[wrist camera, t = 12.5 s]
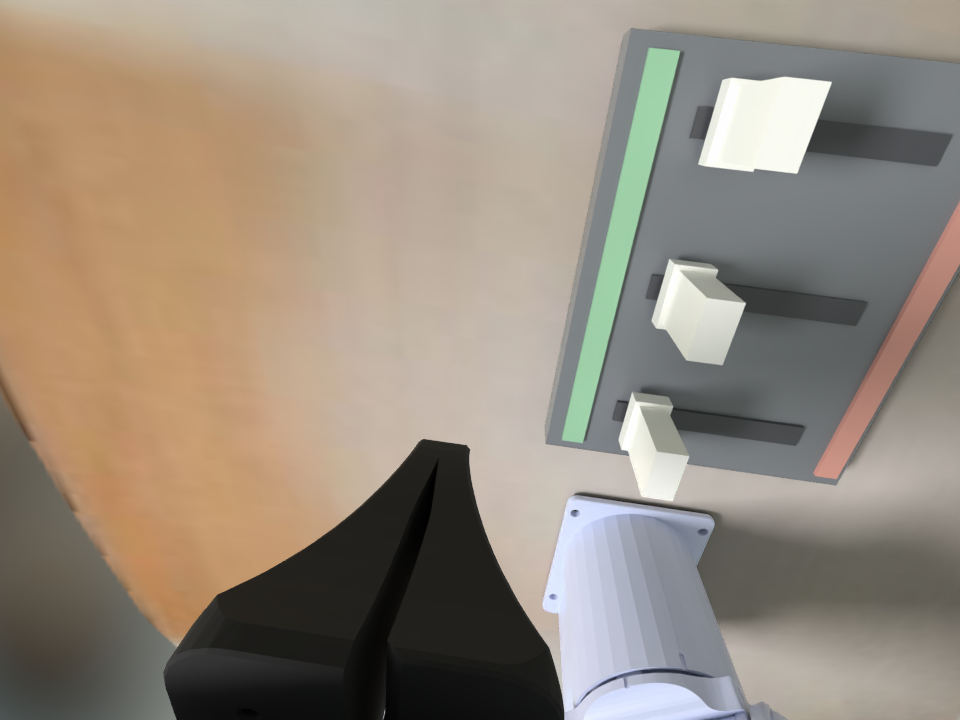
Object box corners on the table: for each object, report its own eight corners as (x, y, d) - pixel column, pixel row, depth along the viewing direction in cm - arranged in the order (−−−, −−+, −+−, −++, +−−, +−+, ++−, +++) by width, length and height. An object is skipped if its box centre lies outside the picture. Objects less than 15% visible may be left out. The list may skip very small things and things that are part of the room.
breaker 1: (652, 444, 22) (676, 505, 19) (618, 439, 22) (635, 499, 19) (668, 396, 21) (696, 452, 17) (632, 392, 21) (653, 446, 17)
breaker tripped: (690, 325, 19) (726, 371, 16) (651, 320, 20) (678, 364, 16) (711, 263, 18) (755, 297, 15) (669, 258, 18) (703, 291, 15)
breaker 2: (743, 169, 17) (801, 182, 13) (698, 164, 17) (743, 175, 13) (771, 85, 16) (843, 73, 12) (722, 79, 16) (779, 66, 12)
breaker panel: (819, 465, 24) (838, 488, 23) (545, 426, 25) (546, 446, 23) (1028, 79, 16) (1078, 74, 15) (623, 35, 17) (632, 27, 15)
